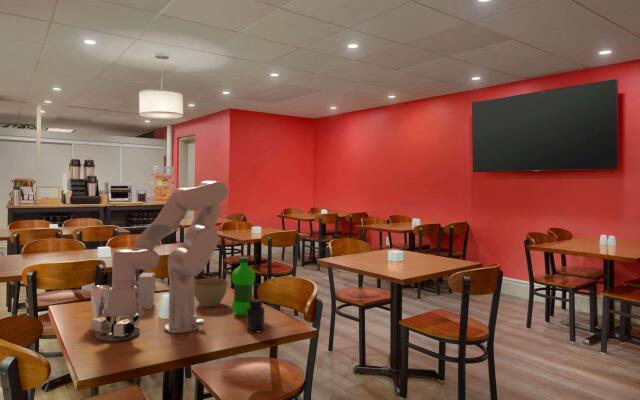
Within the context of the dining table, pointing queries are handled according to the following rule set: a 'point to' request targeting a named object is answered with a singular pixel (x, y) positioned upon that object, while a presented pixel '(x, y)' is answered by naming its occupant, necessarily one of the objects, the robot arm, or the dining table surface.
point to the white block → (100, 324)
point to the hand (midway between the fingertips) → (122, 333)
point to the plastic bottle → (242, 286)
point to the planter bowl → (210, 291)
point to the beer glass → (99, 299)
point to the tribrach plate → (109, 337)
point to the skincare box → (146, 290)
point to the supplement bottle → (255, 316)
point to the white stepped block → (128, 318)
